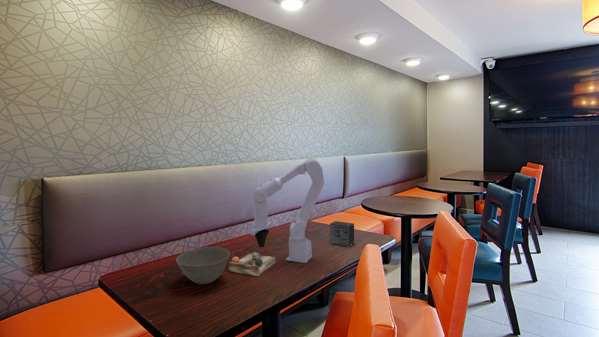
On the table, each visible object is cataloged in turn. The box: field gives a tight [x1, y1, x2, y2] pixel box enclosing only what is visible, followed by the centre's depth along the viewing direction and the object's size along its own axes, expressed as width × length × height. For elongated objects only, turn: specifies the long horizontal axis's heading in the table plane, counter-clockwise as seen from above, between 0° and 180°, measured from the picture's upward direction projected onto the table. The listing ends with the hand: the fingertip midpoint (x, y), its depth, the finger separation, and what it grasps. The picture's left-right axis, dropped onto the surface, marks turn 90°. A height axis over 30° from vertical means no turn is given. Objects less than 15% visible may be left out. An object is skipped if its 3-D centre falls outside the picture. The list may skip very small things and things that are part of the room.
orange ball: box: [231, 256, 240, 263], centre depth 127 cm, size 3×3×3 cm
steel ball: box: [251, 251, 260, 260], centre depth 132 cm, size 3×3×3 cm
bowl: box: [175, 246, 231, 285], centre depth 116 cm, size 19×19×10 cm
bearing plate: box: [228, 253, 277, 277], centre depth 129 cm, size 13×15×4 cm
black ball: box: [255, 258, 263, 266], centre depth 125 cm, size 3×3×3 cm
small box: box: [329, 220, 355, 247], centre depth 156 cm, size 11×6×10 cm, turn 58°
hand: (261, 246), depth 137 cm, fingers closed
